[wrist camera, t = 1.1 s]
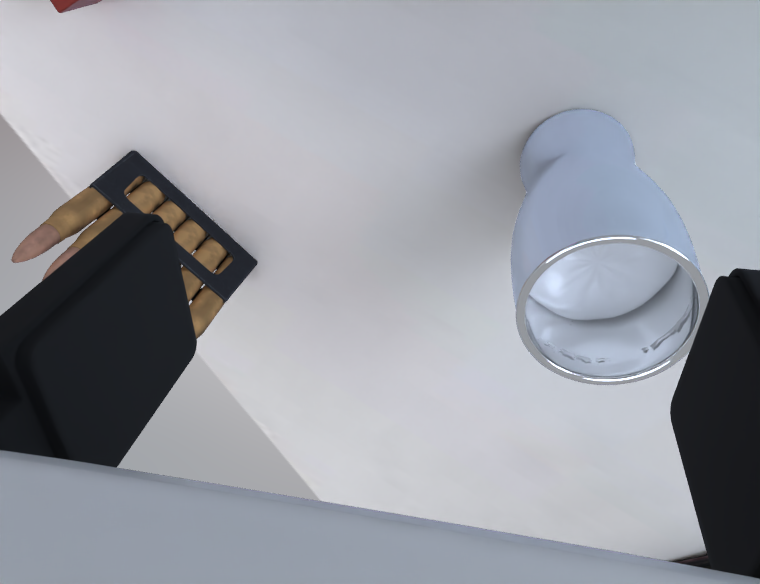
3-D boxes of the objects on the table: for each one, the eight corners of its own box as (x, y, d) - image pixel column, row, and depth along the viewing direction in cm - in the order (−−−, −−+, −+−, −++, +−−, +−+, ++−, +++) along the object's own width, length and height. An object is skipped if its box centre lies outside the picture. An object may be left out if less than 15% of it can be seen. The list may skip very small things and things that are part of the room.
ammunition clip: (119, 166, 40) (-12, 258, 30) (133, 148, 39) (3, 237, 29) (242, 276, 43) (160, 392, 33) (258, 262, 42) (178, 377, 32)
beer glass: (486, 159, 35) (470, 305, 23) (589, 71, 31) (637, 188, 19) (563, 239, 37) (587, 416, 24) (669, 165, 33) (759, 328, 21)
